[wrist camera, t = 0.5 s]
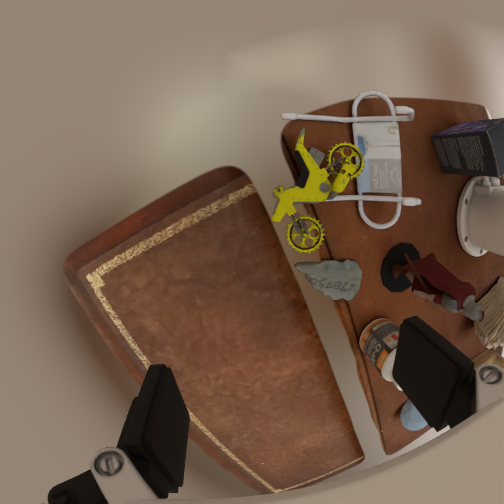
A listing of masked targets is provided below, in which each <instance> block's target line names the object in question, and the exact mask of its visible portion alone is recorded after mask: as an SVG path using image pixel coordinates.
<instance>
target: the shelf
mask: <svg viewBox="0 0 504 504" xmlns="http://www.w3.org/2000/svg"><path fill="white" fill-rule="evenodd" d="M471 361H472V362H474V363H475V366H474V369H475V370H477V368H478V367H479V366H480V365H482V364H484V363H493V364H496V365H498V366H499V367H501V368H502V369H503V371H504V358H503V357H502V356H501V355H499V354H498V353H497V352H495V351H494V350H493V349H491V348H490V349H489V350H488V349H487V350H485V351H484V352H482V353H481V354H479V355H478V356H476V357H475V358H473V359H472V360H471Z"/></svg>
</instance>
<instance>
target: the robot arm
mask: <svg viewBox="0 0 504 504" xmlns="http://www.w3.org/2000/svg"><path fill="white" fill-rule="evenodd" d="M457 231H458V236H459V240H460V243H461V246H462V247H463V249H464V250H465V251H466V252H467V253H468V254H470V255H472V256H475V257H478V256H481V255H483V254H485V253H486V252H487V251H490V252H493V253H496V254H499V255H501V256H504V186H500V180H499V179H498V178H496V177H486V176H482V177H473V178H472V179H470V180H469V181H468V182H467V183H466V185H465V186H464V188H463V191H462V193H461V196H460V199H459V204H458V209H457ZM474 366H475V363H474V362H472V361H471V360H470V359H469V358H468V357H467V356H465V355H464V354H463V353H462V352H461V351H460V350H458V349H457V348H456V347H455V346H454V345H452V344H451V343H450V342H449V341H447V340H446V339H445V338H444V337H443V336H441V335H440V334H439V333H438V332H436V331H435V330H434V329H433V328H431V327H430V326H429V325H428V324H426V323H425V322H424V321H423V320H421V319H420V318H419V317H417V316H413V317H410V318H407V319H405V320H403V323H402V324H401V325H400V329H399V336H398V342H397V349H396V354H395V360H394V365H393V370H392V376H393V379H394V380H395V381H396V383H397V384H398V385H399V387H400V388H401V389H402V390H403V392H404V393H405V394H406V396H407V397H408V398H409V400H410V401H411V402H412V404H413V405H414V406H415V407H416V409H417V410H418V411H419V413H420V414H421V415H422V417H423V418H424V419H425V421H426V422H427V423H428V425H429V426H430V427H432V428H433V427H434V429H435V430H436V431H437V432H438V431H440V430H442V429H443V428H445V427H446V426H447V425H449V426H450V430H448V431H446V432H445V433H443V434H441V435H440V436H438V437H436V438H434V439H432V440H431V441H429V442H427V443H425V444H423V445H421V446H419V447H417V448H415V449H414V450H411V451H409V452H407V453H405V454H403V455H401V456H399V457H396V458H394V459H392V460H389V461H387V462H385V463H382V464H380V465H377V466H375V467H372V468H369V469H367V470H364V471H361V472H358V473H355V474H352V475H349V476H346V477H343V478H340V479H336V480H333V481H329V482H325V483H322V484H318V485H313V486H309V487H305V488H300V489H295V490H290V491H285V492H279V493H272V494H265V495H257V496H248V497H236V498H222V499H166V498H168V493H178V487H182V485H183V479H184V469H185V458H186V448H187V440H188V431H189V422H190V417H189V412H188V410H187V408H186V405H185V403H184V401H183V398H182V396H181V393H180V391H179V388H178V386H177V383H176V381H175V378H174V376H173V373H172V370H171V368H169V367H168V368H167V367H166V366H165V364H157V365H150V366H149V368H148V371H147V373H146V376H145V379H144V381H143V384H142V387H141V390H140V392H139V395H138V397H135V398H134V399H133V402H132V404H131V407H130V409H129V413H128V415H127V418H126V421H125V423H124V427H123V429H122V432H121V435H120V438H119V441H118V444H117V447H116V448H115V447H105V448H102V449H100V450H98V451H97V452H95V454H94V455H93V456H92V458H91V460H90V468H91V469H90V470H88V471H86V472H84V473H82V474H80V475H78V476H76V477H74V478H72V479H69V480H67V481H65V482H63V483H61V484H58V485H56V486H54V487H53V488H52V489H51V490H50V491H49V494H48V504H504V371H503V369H502V368H501V367H499V366H498V365H496V364H493V363H484V364H482V365H480V366H479V367H478V368H477V370H475V369H474ZM42 504H44V503H42Z"/></svg>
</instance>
